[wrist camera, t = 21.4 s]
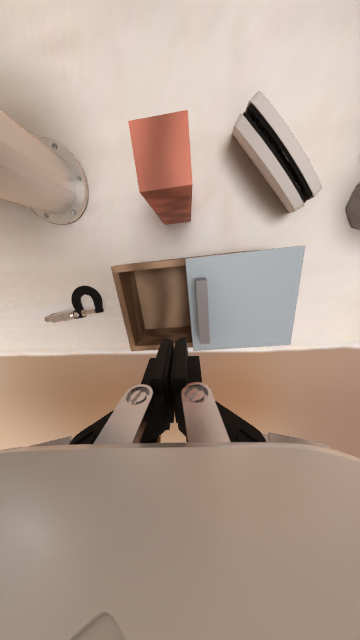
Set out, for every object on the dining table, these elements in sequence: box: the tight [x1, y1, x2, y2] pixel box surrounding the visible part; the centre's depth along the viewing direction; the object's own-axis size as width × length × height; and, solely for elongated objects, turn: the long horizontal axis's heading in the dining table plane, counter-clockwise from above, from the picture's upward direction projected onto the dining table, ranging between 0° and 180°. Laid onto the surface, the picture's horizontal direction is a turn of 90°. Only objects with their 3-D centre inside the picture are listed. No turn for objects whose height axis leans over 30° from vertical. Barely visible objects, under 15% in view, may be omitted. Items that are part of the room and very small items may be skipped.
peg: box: [128, 110, 192, 224], centre depth 23 cm, size 5×5×18 cm
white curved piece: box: [232, 91, 322, 213], centre depth 25 cm, size 17×5×10 cm, turn 46°
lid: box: [185, 246, 305, 351], centre depth 26 cm, size 17×16×4 cm
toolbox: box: [111, 250, 259, 351], centre depth 33 cm, size 24×16×9 cm, turn 96°
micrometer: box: [45, 286, 103, 323], centre depth 39 cm, size 15×7×2 cm, turn 101°
